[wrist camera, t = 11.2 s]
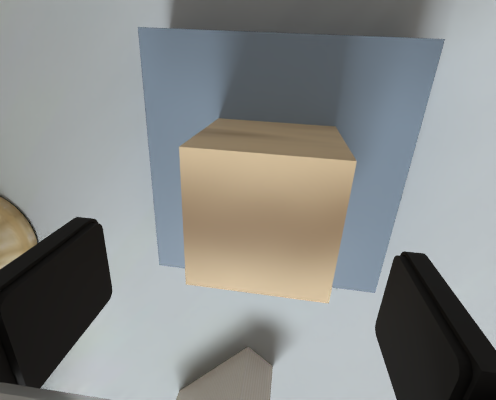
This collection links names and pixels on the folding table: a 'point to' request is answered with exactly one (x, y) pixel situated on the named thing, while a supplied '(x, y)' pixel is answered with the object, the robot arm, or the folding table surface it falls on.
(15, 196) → the folding table surface
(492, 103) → the folding table surface
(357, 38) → the slate base
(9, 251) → the hand bell
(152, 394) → the folding table surface
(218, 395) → the model
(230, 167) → the oak cube
